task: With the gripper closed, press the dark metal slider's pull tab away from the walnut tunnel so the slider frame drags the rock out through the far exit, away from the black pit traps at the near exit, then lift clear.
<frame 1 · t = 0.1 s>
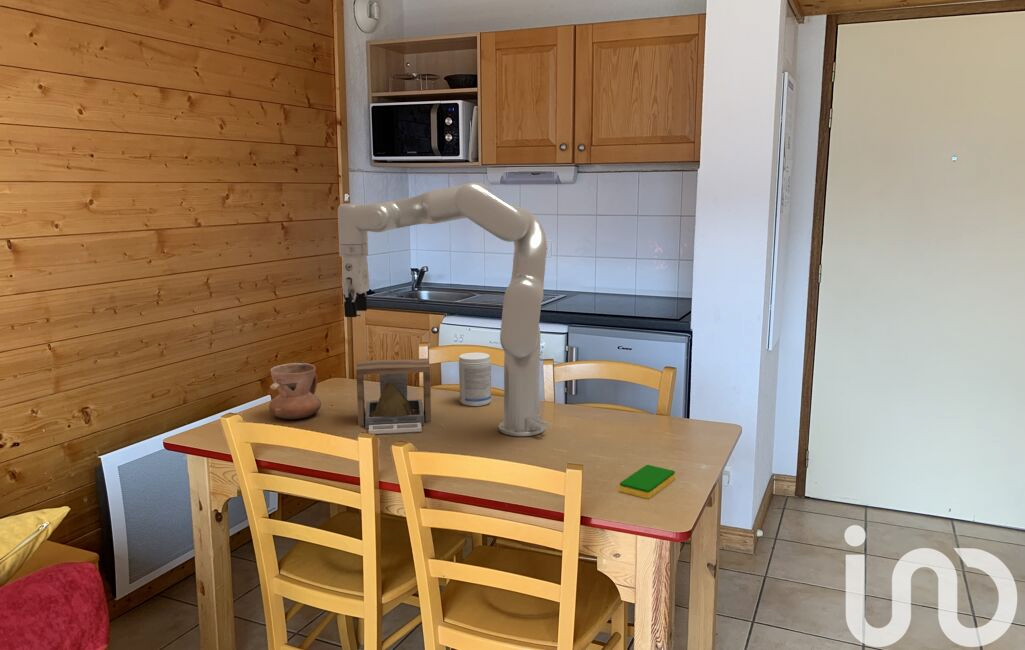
hand: (356, 313, 210), 31 cm above the table, tool pointing down, fingers open, 9 cm apart
dish sponge: (647, 487, 174), on the table
ceramic jug: (297, 415, 225), on the table
supplement tub: (475, 403, 237), on the table
rock: (394, 419, 221), on the table
slider: (394, 397, 225), point 5 cm above the table, slide at 0.0 cm
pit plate: (395, 430, 211), on the table
tunnel: (394, 418, 221), on the table
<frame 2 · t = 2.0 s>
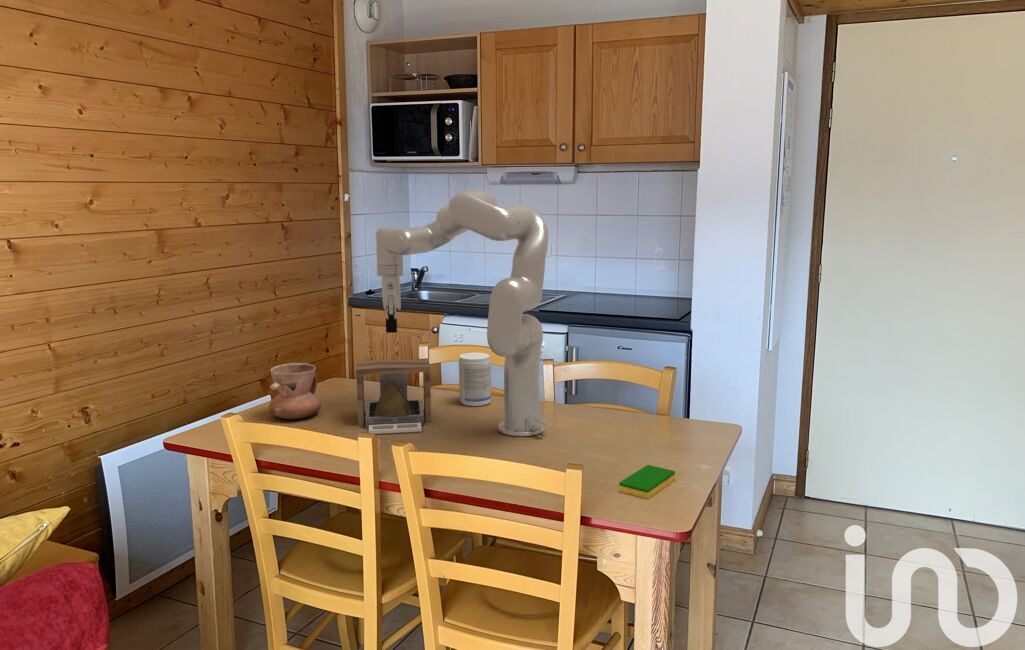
hand: (391, 332, 230), 22 cm above the table, tool pointing down, fingers closed
nothing on the table moved.
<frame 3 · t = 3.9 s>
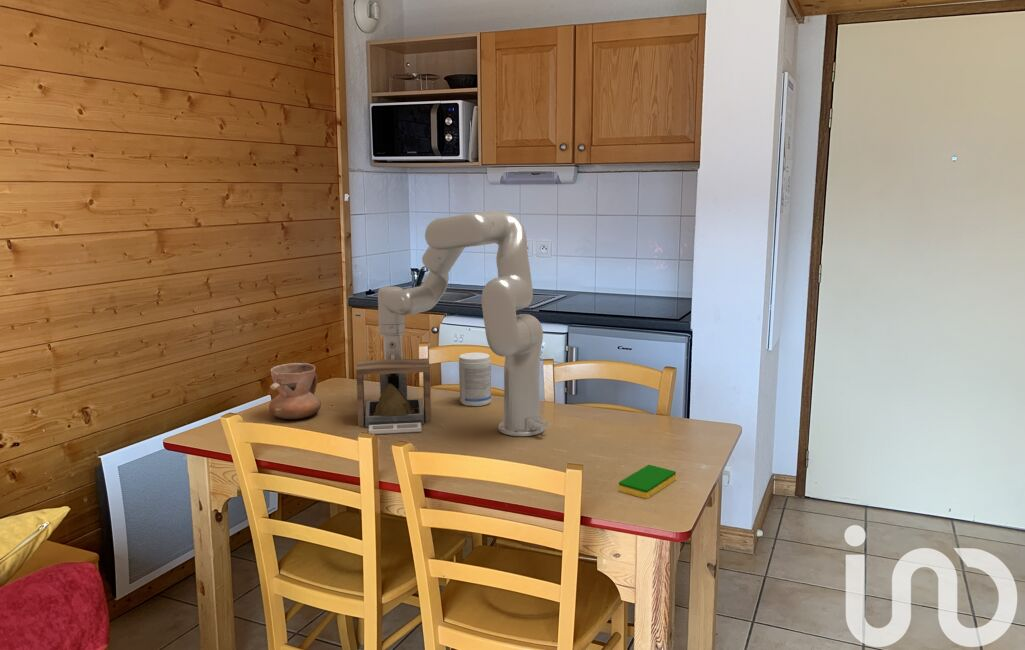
hand: (393, 388, 233), 5 cm above the table, tool pointing down, fingers closed
slider: (394, 396, 225), point 5 cm above the table, slide at 0.8 cm, touching gripper
everything else where it was.
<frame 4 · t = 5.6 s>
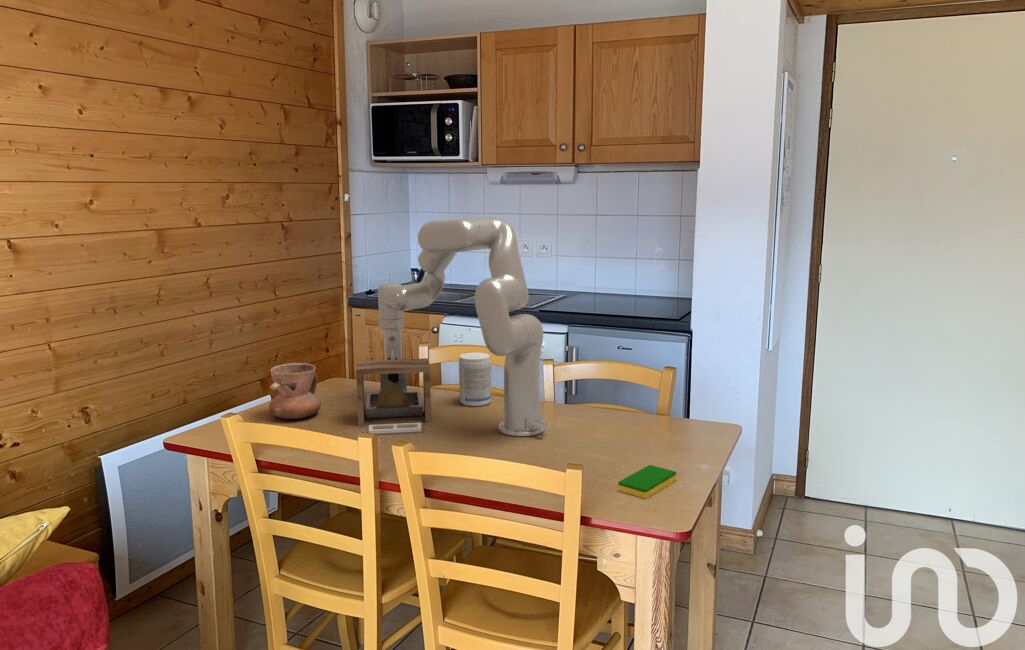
hand: (393, 381, 241), 5 cm above the table, tool pointing down, fingers closed
rock: (394, 415, 225), on the table, touching slider
slider: (393, 389, 233), point 5 cm above the table, slide at 8.8 cm, touching rock, gripper
everything else where it was.
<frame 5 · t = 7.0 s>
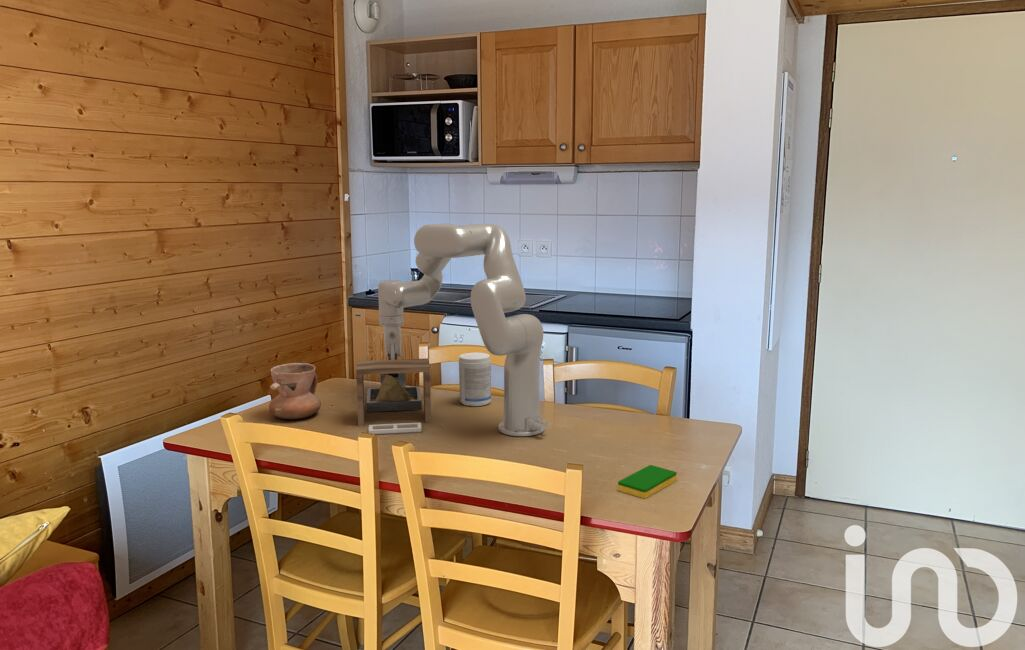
hand: (393, 376, 247), 5 cm above the table, tool pointing down, fingers closed
rock: (394, 409, 231), on the table, touching slider
slider: (393, 384, 239), point 5 cm above the table, slide at 14.8 cm, touching rock, gripper
everything else where it was.
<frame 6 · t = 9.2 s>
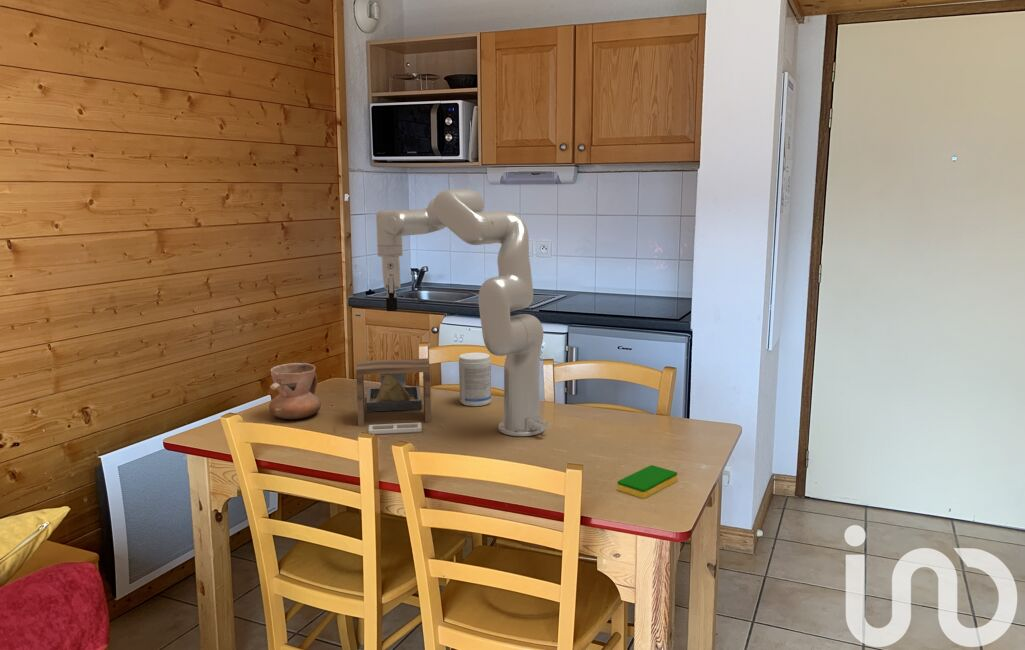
hand: (391, 310, 240), 27 cm above the table, tool pointing down, fingers closed
rock: (394, 409, 231), on the table
slider: (393, 384, 239), point 5 cm above the table, slide at 15.0 cm
everything else where it was.
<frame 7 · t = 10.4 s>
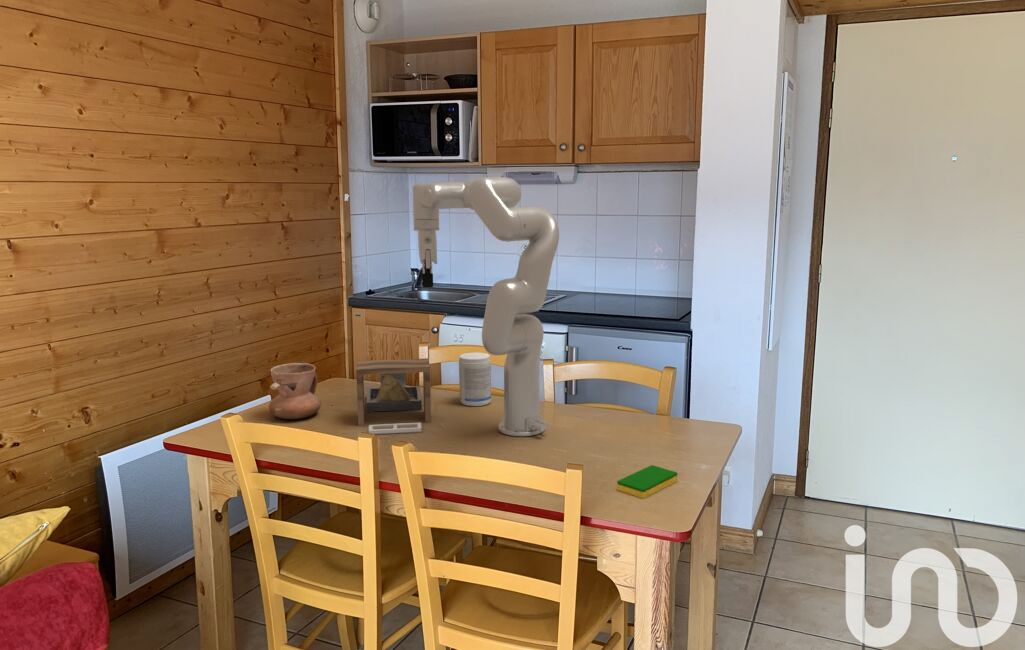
hand: (427, 286, 233), 35 cm above the table, tool pointing down, fingers closed
nothing on the table moved.
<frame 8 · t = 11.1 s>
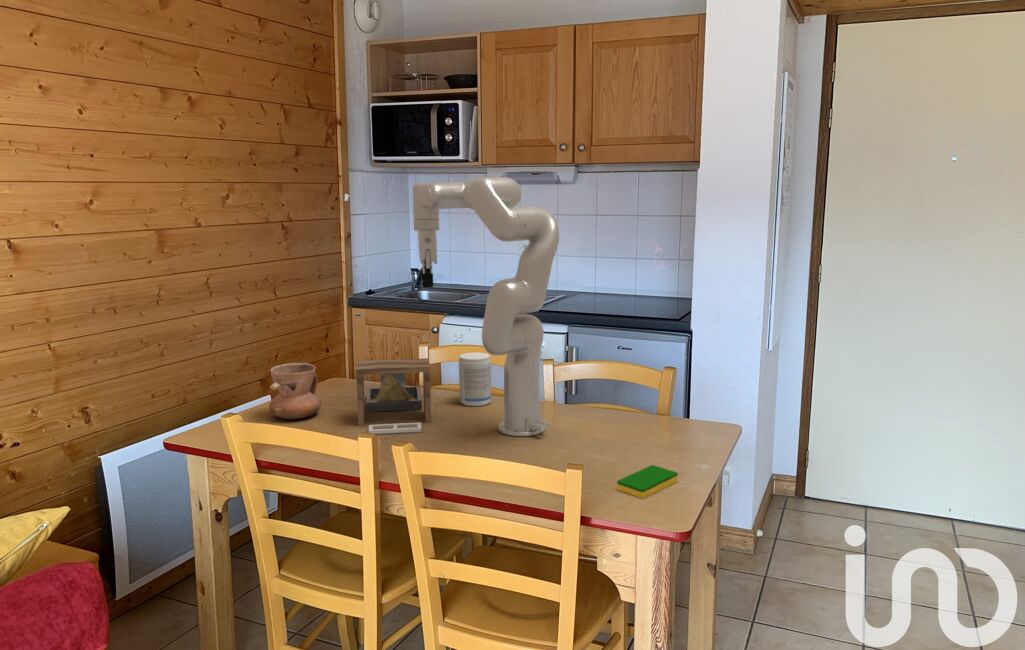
hand: (427, 286, 233), 35 cm above the table, tool pointing down, fingers closed
nothing on the table moved.
at the end: slider slide at 15.0 cm; rock inside the target area on the table beside the tunnel (2.5 cm from its centre), on the table; rock tilted 0° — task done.
